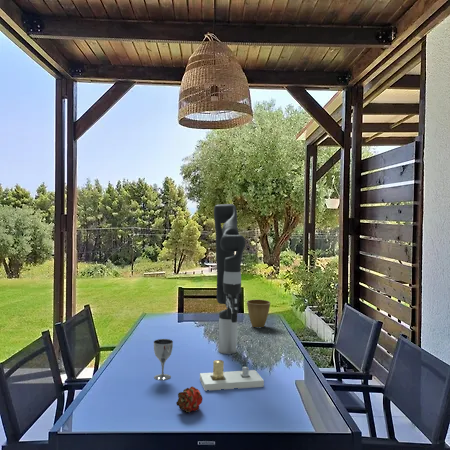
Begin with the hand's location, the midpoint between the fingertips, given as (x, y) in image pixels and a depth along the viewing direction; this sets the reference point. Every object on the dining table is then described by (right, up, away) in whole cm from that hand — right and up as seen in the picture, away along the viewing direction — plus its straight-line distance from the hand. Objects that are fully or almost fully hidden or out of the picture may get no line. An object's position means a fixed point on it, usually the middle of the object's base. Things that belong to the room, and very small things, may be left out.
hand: (231, 319), depth 175 cm
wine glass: (-29, -24, -2) cm, 38 cm away
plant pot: (+18, -25, +87) cm, 93 cm away
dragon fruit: (-15, -24, -32) cm, 43 cm away
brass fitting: (-6, -24, -8) cm, 26 cm away
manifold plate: (0, -24, -7) cm, 25 cm away
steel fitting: (+5, -24, -6) cm, 26 cm away
